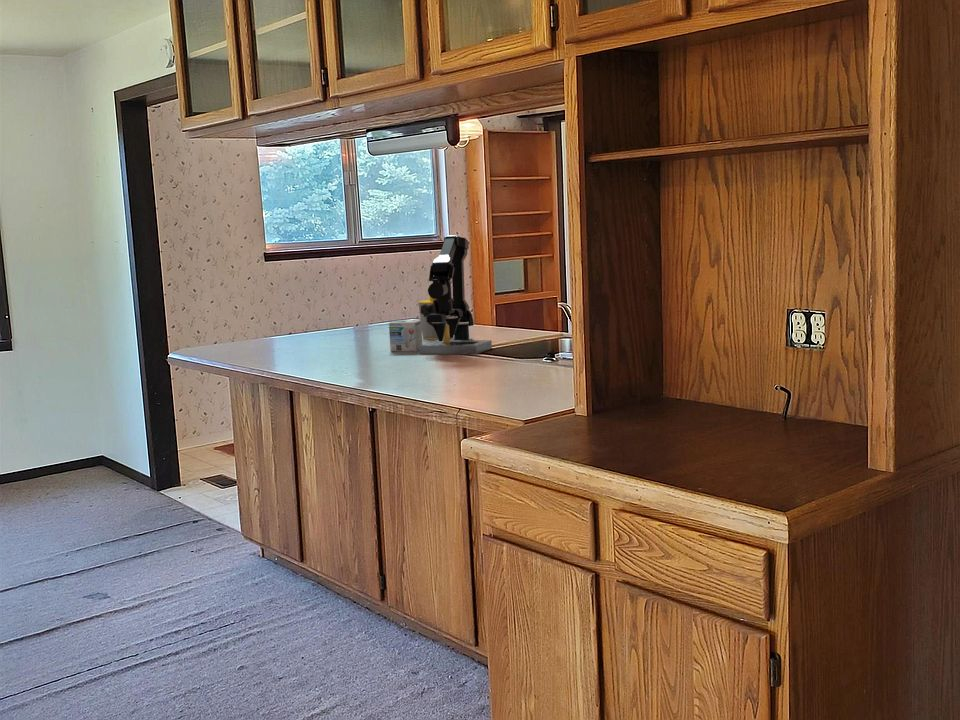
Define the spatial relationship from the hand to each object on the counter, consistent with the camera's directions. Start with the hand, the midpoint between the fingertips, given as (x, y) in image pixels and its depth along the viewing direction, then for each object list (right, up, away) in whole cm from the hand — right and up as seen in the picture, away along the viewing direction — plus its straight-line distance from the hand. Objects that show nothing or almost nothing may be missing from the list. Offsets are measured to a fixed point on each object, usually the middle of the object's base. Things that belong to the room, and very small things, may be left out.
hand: (446, 339), depth 341 cm
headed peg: (0, -4, +1) cm, 4 cm away
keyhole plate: (+4, -4, -1) cm, 6 cm away
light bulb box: (-15, -4, +9) cm, 18 cm away
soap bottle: (-5, +2, +42) cm, 42 cm away
